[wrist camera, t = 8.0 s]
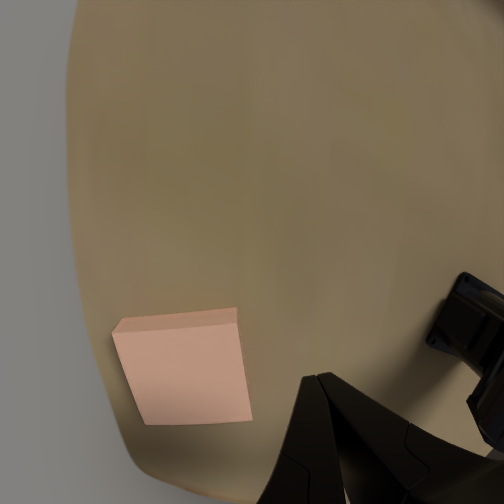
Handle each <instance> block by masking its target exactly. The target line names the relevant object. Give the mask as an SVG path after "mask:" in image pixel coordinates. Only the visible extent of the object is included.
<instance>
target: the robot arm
mask: <svg viewBox="0 0 504 504" xmlns="http://www.w3.org/2000/svg"><path fill="white" fill-rule="evenodd" d="M465 277H466V279H465ZM464 279H465V280H464ZM432 340H433V341H432ZM431 341H432V342H431ZM426 344H427V345H428V346H429V347H431V348H434V349H437V350H440V351H443V352H446V353H449V354H452V355H455V356H458V357H459V358H461V359H462V360H463V361H464V362H465V363H466V364H467V365H468V366H469V367H470V368H471V369H472V370H473V371H474V372H475V373H476V374H477V375H478V376H479V377H480V378H481V379H480V381H479V383H478V384H477V386H476V388H475V389H474V391H473V393H472V394H471V395H469V397H468V399H467V400H466V402H467V404H468V407H469V409H470V411H471V413H472V415H473V417H474V420H475V422H476V424H477V426H478V429H479V431H480V433H481V435H482V437H483V440H484V441H485V443H487V444H489V445H490V446H491V447H493V448H494V449H496V450H498V451H500V452H503V453H504V295H503V294H501V293H500V292H498V291H497V290H495V289H493V288H492V287H490V286H489V285H487V284H486V283H484V282H482V281H481V280H479V279H477V278H476V277H474V276H473V275H471V274H469V273H467V272H463V273H461V275H460V277H459V279H458V281H457V283H456V285H455V287H454V289H453V291H452V293H451V295H450V297H449V299H448V301H447V303H446V305H445V307H444V309H443V310H442V312H441V314H440V316H439V318H438V320H437V321H436V323H435V325H434V327H433V328H432V330H431V332H430V334H429V335H428V337H427V339H426ZM343 486H344V487H343ZM344 489H345V491H346V494H347V496H348V499H349V501H350V504H504V460H494V459H489V458H486V457H483V456H480V455H478V454H475V453H473V452H470V451H468V450H465V449H463V448H460V447H458V446H455V445H453V444H451V443H448V442H446V441H444V440H442V439H440V438H438V437H435V436H433V435H432V434H430V433H428V432H426V431H424V430H422V429H421V428H419V427H417V426H416V425H414V424H412V423H410V424H409V421H407V420H405V419H404V418H402V417H401V416H399V415H397V414H396V413H394V412H392V411H391V410H389V409H388V408H386V407H384V406H383V405H381V404H380V403H378V402H376V401H375V400H373V399H372V398H370V397H368V396H367V395H365V394H364V393H362V392H361V391H359V390H358V389H356V388H354V387H353V386H351V385H350V384H348V383H347V382H345V381H344V380H342V379H341V378H339V377H338V376H336V375H335V374H333V373H331V372H327V373H321V374H318V375H317V376H316V375H310V376H304V377H302V379H301V382H300V386H299V390H298V393H297V397H296V400H295V404H294V407H293V411H292V414H291V417H290V421H289V424H288V427H287V431H286V434H285V437H284V440H283V443H282V447H281V450H280V454H279V455H278V458H277V461H276V464H275V467H274V469H273V472H272V474H271V477H270V479H269V481H268V483H267V485H266V487H265V489H264V491H263V493H262V494H261V496H260V498H259V500H258V501H257V503H256V504H346V499H345V493H344Z"/></svg>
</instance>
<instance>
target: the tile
mask: <svg viewBox="0 0 504 504" xmlns="http://www.w3.org/2000/svg"><path fill="white" fill-rule="evenodd" d="M112 336H113V339H114V343H115V346H116V349H117V352H118V355H119V358H120V361H121V364H122V366H123V369H124V372H125V375H126V378H127V380H128V383H129V386H130V388H131V391H132V393H133V396H134V399H135V401H136V404H137V406H138V408H139V411H140V413H141V416H142V418H143V420H144V423H145V425H192V424H213V423H228V422H240V421H250V420H253V417H252V401H251V394H250V388H249V382H248V376H247V369H246V363H245V357H244V350H243V344H242V337H241V330H240V324H239V317H238V310H237V307H234V308H225V309H216V310H206V311H197V312H187V313H176V314H165V315H154V316H142V317H129V318H122V319H121V321H120V322H119V324H118V325H117V326H116V328H115V329H114V330H113V332H112Z"/></svg>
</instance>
